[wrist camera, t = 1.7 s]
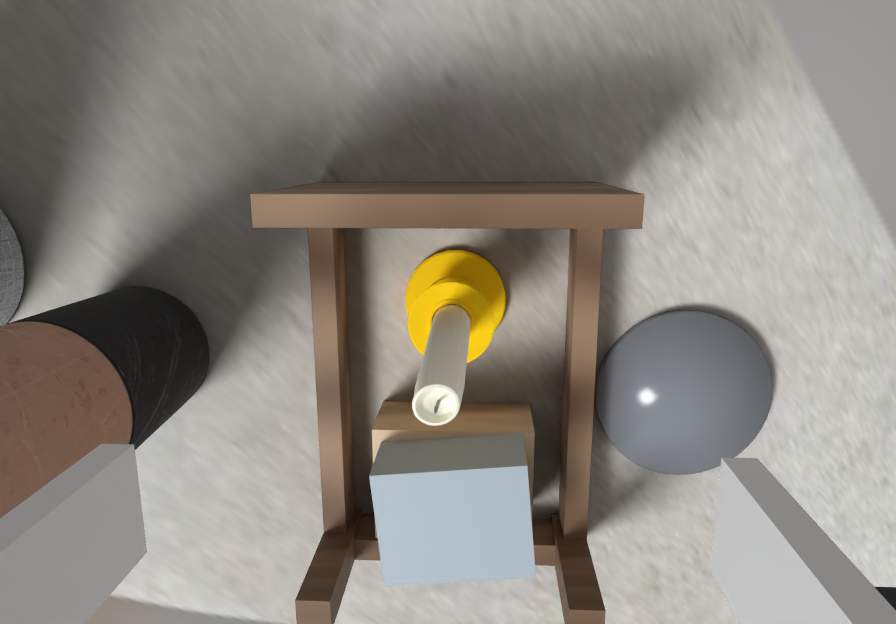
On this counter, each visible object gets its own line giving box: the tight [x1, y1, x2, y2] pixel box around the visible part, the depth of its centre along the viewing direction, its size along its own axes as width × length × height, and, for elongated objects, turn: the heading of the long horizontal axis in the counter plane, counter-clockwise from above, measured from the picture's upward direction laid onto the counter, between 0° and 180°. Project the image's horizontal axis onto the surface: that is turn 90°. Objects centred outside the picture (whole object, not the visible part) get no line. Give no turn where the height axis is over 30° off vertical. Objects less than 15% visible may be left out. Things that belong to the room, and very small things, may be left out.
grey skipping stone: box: [595, 310, 772, 475], centre depth 35 cm, size 9×9×1 cm
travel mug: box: [0, 287, 209, 518], centre depth 26 cm, size 8×8×20 cm
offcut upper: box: [369, 432, 536, 586], centre depth 31 cm, size 6×7×4 cm
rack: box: [250, 182, 644, 624], centre depth 30 cm, size 20×14×10 cm
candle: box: [406, 250, 506, 426], centre depth 27 cm, size 5×5×16 cm
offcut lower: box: [372, 401, 535, 538], centre depth 35 cm, size 6×8×4 cm
